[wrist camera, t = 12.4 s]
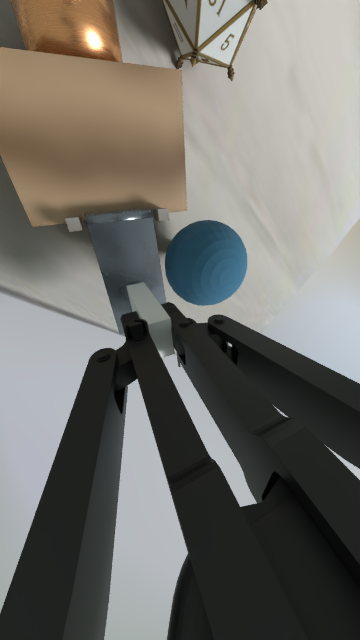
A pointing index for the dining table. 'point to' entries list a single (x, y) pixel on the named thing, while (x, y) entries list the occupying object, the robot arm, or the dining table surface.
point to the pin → (69, 27)
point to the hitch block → (91, 136)
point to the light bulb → (206, 262)
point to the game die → (210, 29)
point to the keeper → (126, 254)
